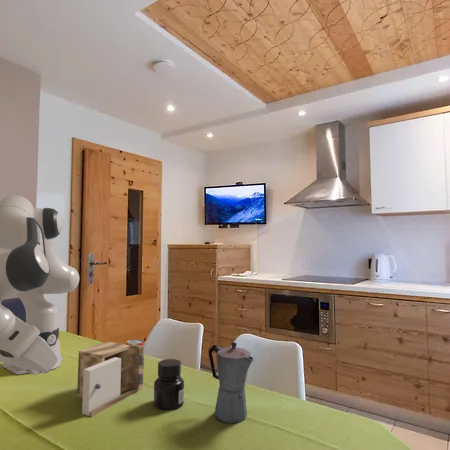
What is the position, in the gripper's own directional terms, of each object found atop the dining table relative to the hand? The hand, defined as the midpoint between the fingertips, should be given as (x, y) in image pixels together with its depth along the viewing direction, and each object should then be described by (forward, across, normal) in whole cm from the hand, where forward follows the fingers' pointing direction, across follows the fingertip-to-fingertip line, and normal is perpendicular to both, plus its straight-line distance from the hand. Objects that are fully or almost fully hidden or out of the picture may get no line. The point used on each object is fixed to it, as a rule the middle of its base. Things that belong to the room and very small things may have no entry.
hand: (35, 371), depth 79 cm
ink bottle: (+34, +17, +13) cm, 40 cm away
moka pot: (+34, +36, +14) cm, 51 cm away
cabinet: (+31, -4, +9) cm, 32 cm away
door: (+27, 0, +6) cm, 28 cm away
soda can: (+43, -8, +23) cm, 49 cm away
